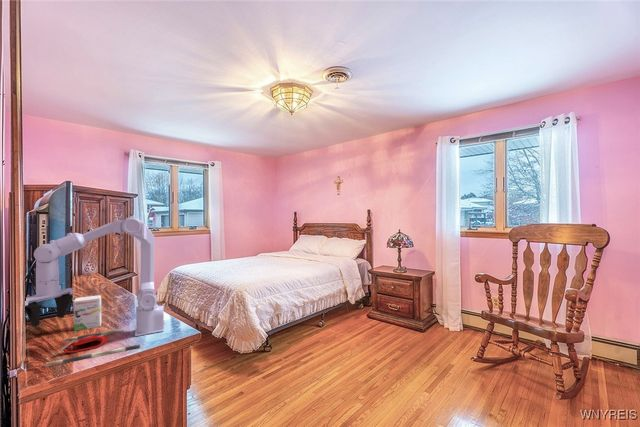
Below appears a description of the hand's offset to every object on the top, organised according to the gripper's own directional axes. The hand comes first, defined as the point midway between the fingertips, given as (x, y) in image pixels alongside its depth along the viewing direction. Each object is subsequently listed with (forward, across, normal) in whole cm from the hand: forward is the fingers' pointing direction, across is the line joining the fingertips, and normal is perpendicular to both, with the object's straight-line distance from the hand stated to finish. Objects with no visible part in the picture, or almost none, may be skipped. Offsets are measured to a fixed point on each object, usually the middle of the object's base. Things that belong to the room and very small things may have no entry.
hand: (48, 321), depth 99 cm
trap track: (+10, -7, +12) cm, 17 cm away
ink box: (+10, -20, -8) cm, 24 cm away
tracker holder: (+10, -5, +9) cm, 14 cm away
